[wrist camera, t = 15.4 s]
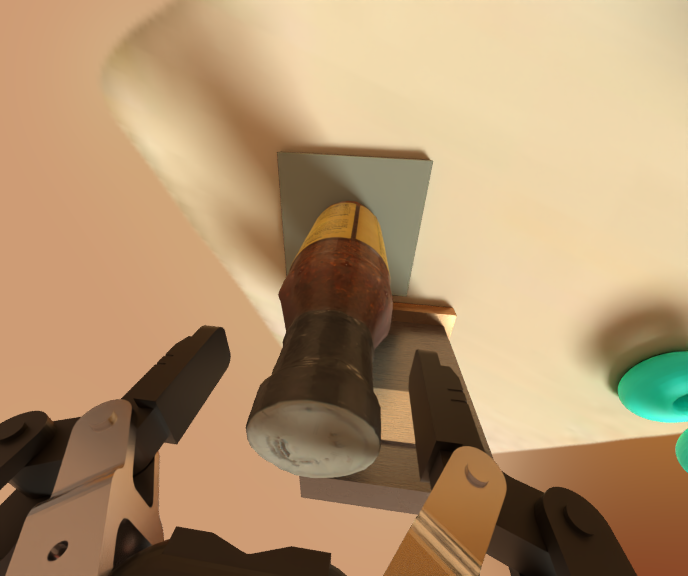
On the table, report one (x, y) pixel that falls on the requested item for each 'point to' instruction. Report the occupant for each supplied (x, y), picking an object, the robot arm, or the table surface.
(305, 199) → the mat
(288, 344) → the sauce bottle
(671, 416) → the donuts
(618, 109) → the table surface
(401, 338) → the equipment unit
